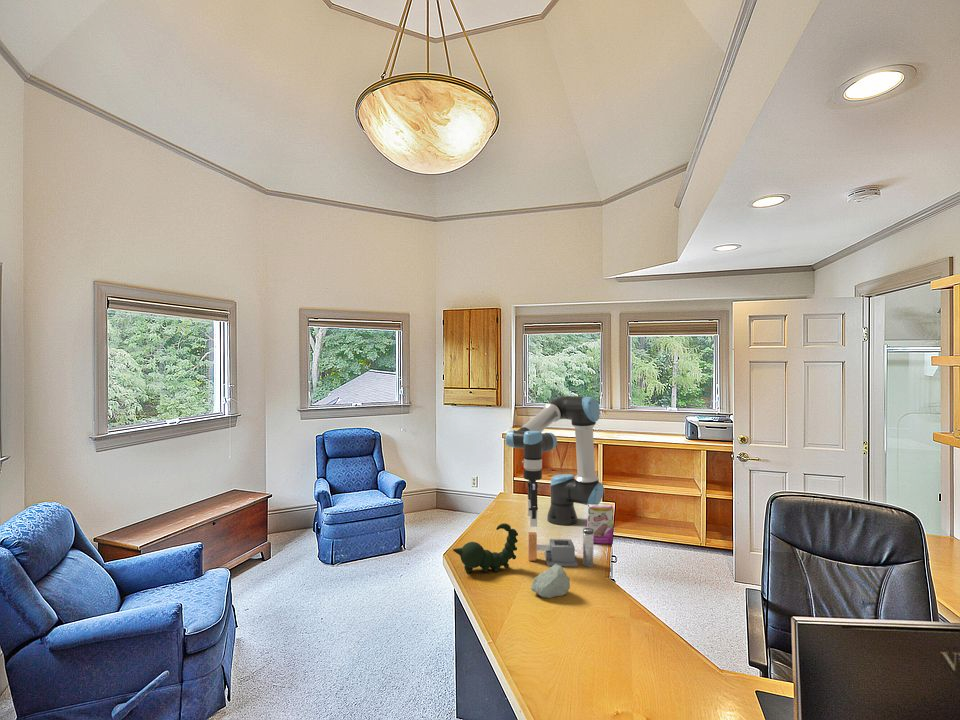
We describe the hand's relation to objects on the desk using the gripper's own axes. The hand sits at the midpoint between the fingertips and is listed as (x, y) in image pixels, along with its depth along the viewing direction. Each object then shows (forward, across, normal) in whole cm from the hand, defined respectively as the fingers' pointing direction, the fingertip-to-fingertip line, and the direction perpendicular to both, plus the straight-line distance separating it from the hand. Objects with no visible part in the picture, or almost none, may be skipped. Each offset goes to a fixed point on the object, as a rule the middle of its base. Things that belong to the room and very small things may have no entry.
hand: (532, 521), depth 199 cm
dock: (+16, 0, +12) cm, 20 cm away
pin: (+16, 0, +7) cm, 17 cm away
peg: (+16, +4, +22) cm, 27 cm away
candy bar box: (+16, -21, +32) cm, 42 cm away
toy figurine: (+16, +11, -19) cm, 27 cm away
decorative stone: (+16, +29, +4) cm, 33 cm away
